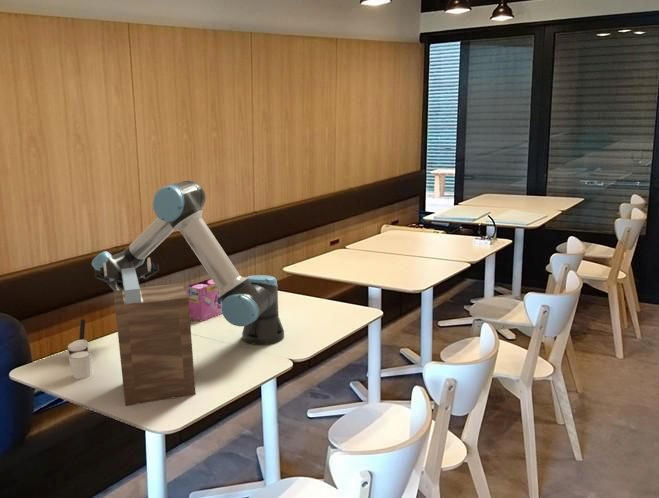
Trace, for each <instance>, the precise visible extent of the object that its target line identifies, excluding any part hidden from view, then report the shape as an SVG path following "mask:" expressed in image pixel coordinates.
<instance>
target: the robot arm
mask: <svg viewBox="0 0 659 498" xmlns="http://www.w3.org/2000/svg"><path fill="white" fill-rule="evenodd" d="M205 203H206V192H205V190H204V189H203V187H202V186H201V185H200V184H199V183H198V182H195V181H191V180H184V181H181V182H176V183H173V184H172V183H171V184H167V185H165V186H163V187H161V188H159V189H158V190H157V191H156V192H155V194H154V196H153V200H152V207H153V211H154V213H155V216H156V218H155V219H154V220H153V222H151V223H150V224H149V225H148V226H147V227H146V228H145V229H144V230H143V231H142V232H141V233H140V234H139V235H138V236H137V237H136V238H135V239H134V240H133V241H132V242H131V243H130V244H129V245H128V246H127V247H126V248H125V249H124V250H123V251H121V252H119V253H116V254H113V255H112V254H111V253H110V252H108V251H106V250H104V251H102V252H100V253H98V255H96V256H95V257H94V258H93V259H92V261H91V266H92V267H93V269H94V278H95V279H97V280H99V281H102V282H105V283H106V284H107V285H108V286H109V287H110V288H111V290H113V292H114V291H117V290H124V287H123V280H122V270H121V269H126V268H135V271H136V275H137V279H138V280H140V279H141V278H143V279H144V280H149V278H150V277H152V276H153V275H155V274H157V273H159V272H160V268H159V267H160V265H159V263H154V262H153V261H151V257H148V256H149V255H150V254H152V252H154V251H155V249H156V248H158V247H159V246H160V245H161V244H162V243H163V242H164V241H165V240H166V239H167V238H168V237H169V236H170V235H171V234H172V233H173V232H174V231H178V232H180V234H181V235H182V237H183V238H184V239H185V241H186V243H187V244H188V245H189V246H190V249H191V250H192V251H193V252H194V254H195V255H196V257H197V258H198V260H199V262H200V263H201V264H202V266H203V268H204V269H205V271H206V272H207V274H208V275H209V277H210V278H212V280H213V281H214V283H215V284H216V286H217V287H218V289H219V296H218V297H219V299H220V300H221V302H222V314H221V315H222V317H224V319H225V320H226V322H228V323H229V324H231V325H233V326H235V327H243V330H242V333H241V334H242V340H243V341H244V342H245V343H247V344H251V345H259V346H260V345H261V346H262V345H270V344H276V343H279V342H280V341H283V339H284V338H285V330H284V327H283V324H282V322H281V318H280V317H279V316H280V315H279V296H278V295H279V294H278V293H279V292H278V287H279V286H278V280H277V278H276V277H275V276H272V275H263V274H262V275H261V274H260V275H258V274H255V275H248V276H246V277H244V276H242V275H240V273H239V271H238V270H237V268H236V267H235V265H234V264H233V263H232V261H231V259H230V258H229V256H228V255H227V253H226V252H225V250H224V249H223V247H222V246H221V244H220V243H219V242H218V239H216V237H215V235H214V234H213V232H212V231H211V229H210V228H209V226H208V225H207V223H206V221H205V220H204V219H203V212H204V210H203V209H202V208H203V207H204V206H205ZM146 258H147V262H146V265H144V266H142V265H143V264H144V263H145V260H146ZM140 266H142V267H140Z"/></svg>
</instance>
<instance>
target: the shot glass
mask: <svg viewBox="0 0 659 498" xmlns="http://www.w3.org/2000/svg"><path fill="white" fill-rule="evenodd" d="M68 360H69V366H70V369H71V374H72V377H73V379H75V380H76V379H77V380H78V379H79V380H80V379H86V378H88V377H91V376H92V368H93V367H92V352H91V351H89V350H88V351H79V352H75V353H72V354H69V355H68Z"/></svg>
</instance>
